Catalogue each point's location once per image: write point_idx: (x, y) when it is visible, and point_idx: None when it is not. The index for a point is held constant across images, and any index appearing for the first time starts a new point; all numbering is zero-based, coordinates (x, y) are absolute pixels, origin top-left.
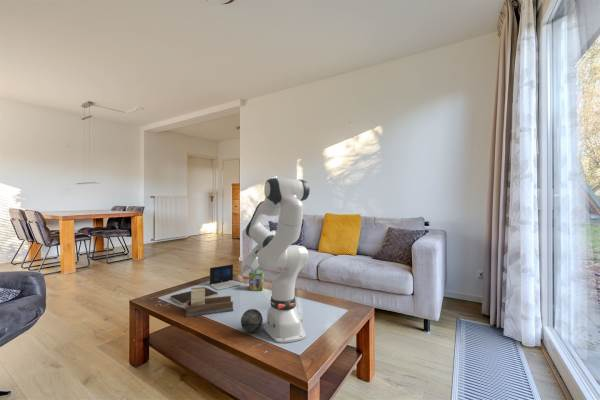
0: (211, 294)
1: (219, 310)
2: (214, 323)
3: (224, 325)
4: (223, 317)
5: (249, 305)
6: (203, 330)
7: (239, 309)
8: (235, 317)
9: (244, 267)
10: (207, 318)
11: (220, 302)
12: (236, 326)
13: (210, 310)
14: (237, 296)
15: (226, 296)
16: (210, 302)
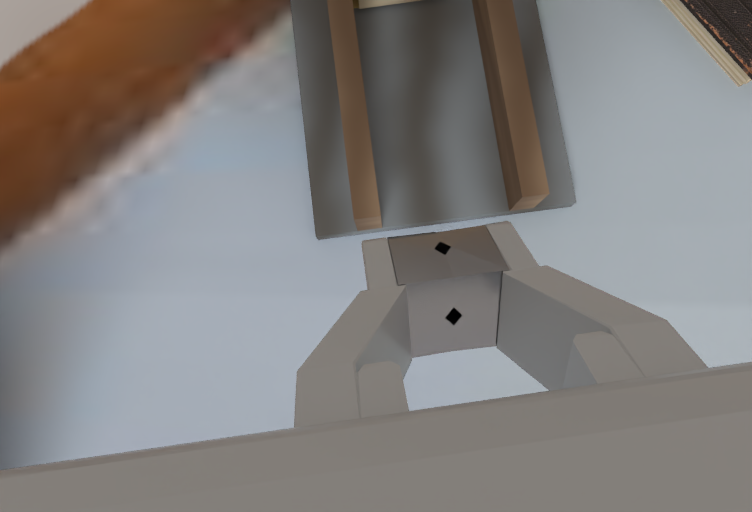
0: (708, 22)
1: (315, 124)
2: (124, 110)
3: (70, 179)
4: (211, 166)
5: (425, 387)
6: (38, 51)
7: (346, 292)
8: (187, 257)
9: (555, 332)
10: (223, 55)
11: (493, 120)
12: (28, 264)
13: (331, 56)
14: (693, 278)
15: (532, 153)
16: (480, 33)
